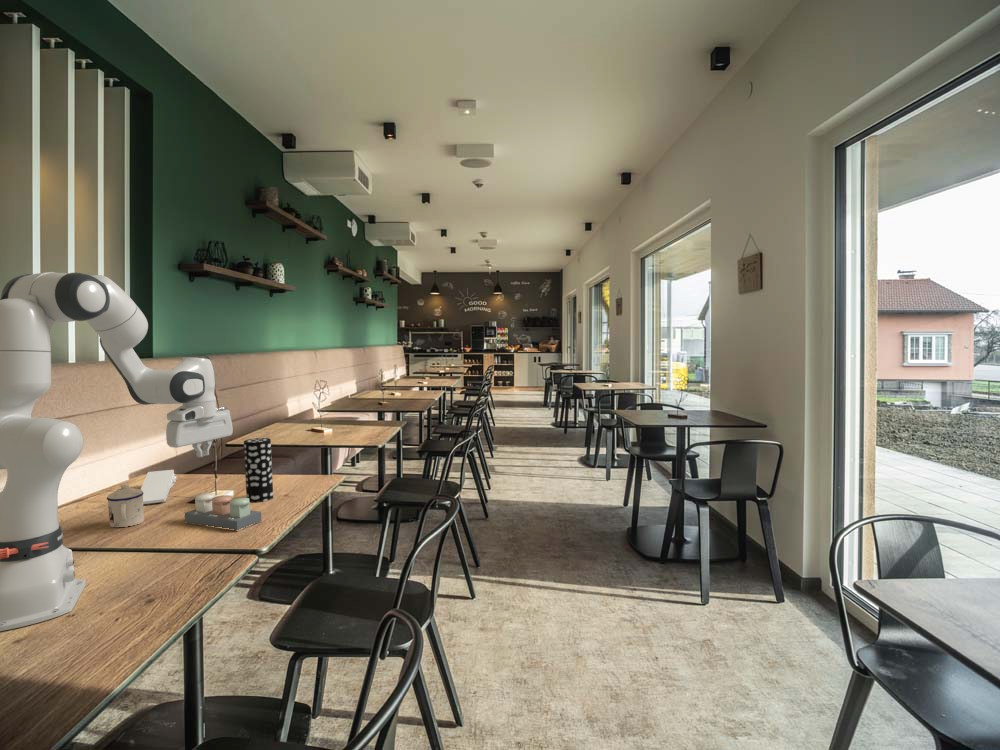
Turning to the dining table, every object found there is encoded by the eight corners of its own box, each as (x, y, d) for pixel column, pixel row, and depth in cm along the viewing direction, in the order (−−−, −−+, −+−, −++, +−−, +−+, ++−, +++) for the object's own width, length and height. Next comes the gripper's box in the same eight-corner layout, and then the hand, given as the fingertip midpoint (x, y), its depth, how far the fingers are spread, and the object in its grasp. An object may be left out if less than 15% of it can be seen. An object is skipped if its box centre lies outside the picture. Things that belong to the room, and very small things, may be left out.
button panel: (261, 521, 169) (261, 511, 168) (237, 531, 161) (236, 520, 160) (210, 513, 177) (209, 503, 177) (185, 522, 169) (184, 512, 168)
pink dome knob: (236, 512, 170) (235, 496, 169) (221, 517, 165) (221, 501, 165) (223, 510, 172) (222, 494, 171) (209, 515, 167) (208, 499, 167)
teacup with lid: (111, 521, 171) (108, 483, 170) (146, 516, 175) (144, 479, 174) (104, 534, 160) (101, 493, 159) (142, 528, 164) (140, 489, 163)
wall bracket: (165, 520, 189) (174, 488, 214) (169, 499, 189) (178, 470, 214) (130, 517, 185) (144, 485, 210) (134, 496, 184) (148, 466, 209)
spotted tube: (277, 498, 192) (274, 439, 191) (253, 504, 186) (250, 443, 185) (266, 493, 198) (263, 437, 196) (242, 499, 192) (239, 440, 190)
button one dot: (219, 509, 173) (218, 493, 172) (204, 514, 168) (203, 498, 167) (207, 507, 175) (206, 492, 174) (192, 512, 170) (191, 496, 169)
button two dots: (254, 515, 167) (253, 498, 167) (239, 520, 162) (238, 503, 162) (240, 513, 169) (240, 496, 169) (226, 518, 164) (225, 501, 164)
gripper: (221, 405, 180) (224, 448, 181) (161, 415, 161) (164, 463, 162) (236, 406, 177) (238, 449, 178) (176, 416, 158) (179, 465, 160)
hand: (202, 456), depth 170 cm, fingers closed
